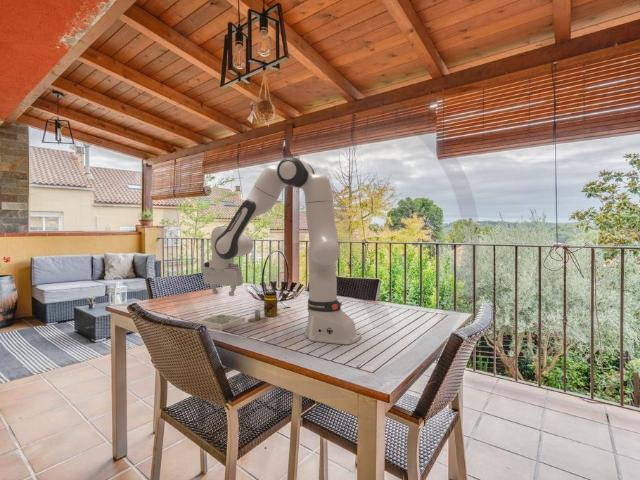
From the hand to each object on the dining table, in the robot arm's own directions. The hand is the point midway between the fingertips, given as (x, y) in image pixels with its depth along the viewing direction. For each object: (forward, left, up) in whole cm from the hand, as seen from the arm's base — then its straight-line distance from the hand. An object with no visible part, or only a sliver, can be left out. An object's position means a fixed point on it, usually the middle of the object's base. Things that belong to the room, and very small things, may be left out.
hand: (223, 294), depth 151 cm
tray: (0, 0, -13) cm, 13 cm away
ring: (0, +1, -12) cm, 12 cm away
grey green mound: (-11, -11, -13) cm, 20 cm away
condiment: (-11, -21, -13) cm, 27 cm away
